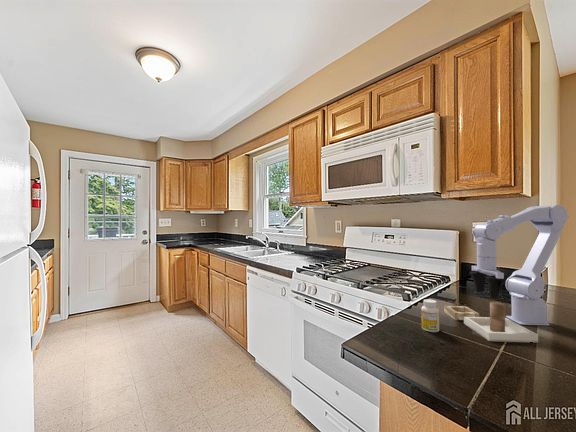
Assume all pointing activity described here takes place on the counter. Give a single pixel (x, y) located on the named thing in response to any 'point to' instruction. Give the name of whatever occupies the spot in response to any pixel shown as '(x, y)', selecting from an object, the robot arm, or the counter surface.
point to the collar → (460, 312)
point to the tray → (511, 333)
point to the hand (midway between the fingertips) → (486, 294)
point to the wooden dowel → (497, 317)
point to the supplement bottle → (430, 316)
